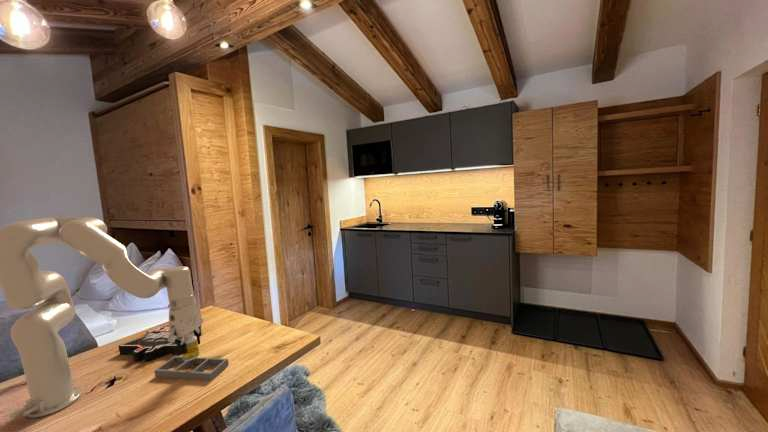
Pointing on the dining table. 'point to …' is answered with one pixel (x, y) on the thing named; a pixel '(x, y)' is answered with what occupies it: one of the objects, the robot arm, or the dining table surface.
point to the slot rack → (196, 373)
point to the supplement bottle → (191, 347)
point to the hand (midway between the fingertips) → (189, 348)
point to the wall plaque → (151, 345)
